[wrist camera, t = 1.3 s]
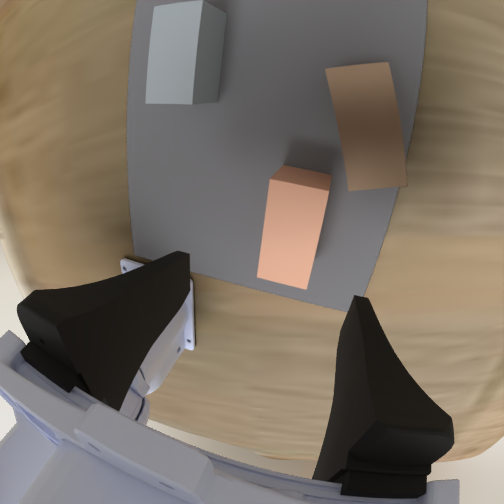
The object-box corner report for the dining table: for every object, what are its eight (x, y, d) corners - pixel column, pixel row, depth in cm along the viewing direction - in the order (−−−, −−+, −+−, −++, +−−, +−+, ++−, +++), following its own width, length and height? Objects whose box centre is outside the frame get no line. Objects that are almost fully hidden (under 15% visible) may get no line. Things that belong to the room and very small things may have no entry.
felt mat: (356, 311, 23) (356, 314, 22) (136, 252, 27) (134, 255, 26) (425, -4, 11) (427, -6, 10) (142, -16, 14) (139, -17, 14)
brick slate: (217, 102, 18) (192, 104, 15) (175, 100, 19) (145, 103, 16) (227, 13, 15) (202, -1, 12) (183, 16, 15) (154, 6, 12)
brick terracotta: (313, 260, 21) (306, 289, 18) (270, 250, 22) (256, 277, 19) (332, 175, 18) (329, 191, 15) (282, 164, 19) (269, 179, 16)
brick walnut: (396, 170, 17) (407, 186, 14) (348, 175, 18) (348, 191, 15) (379, 69, 14) (388, 62, 11) (328, 75, 15) (324, 69, 12)
